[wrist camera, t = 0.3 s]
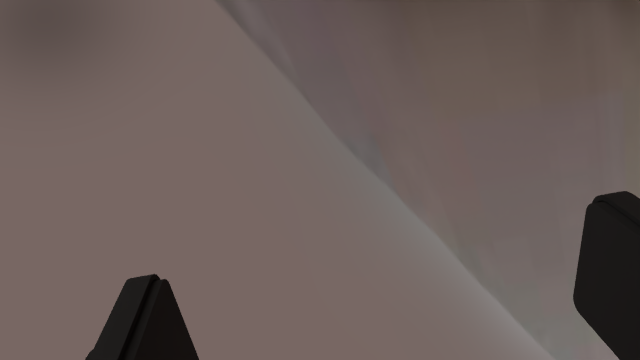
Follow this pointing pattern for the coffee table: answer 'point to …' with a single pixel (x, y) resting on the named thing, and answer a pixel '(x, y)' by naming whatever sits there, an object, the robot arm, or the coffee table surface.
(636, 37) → the coffee table surface
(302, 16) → the coffee table surface
